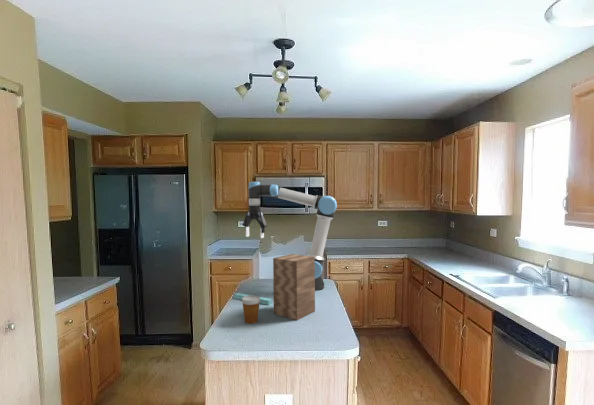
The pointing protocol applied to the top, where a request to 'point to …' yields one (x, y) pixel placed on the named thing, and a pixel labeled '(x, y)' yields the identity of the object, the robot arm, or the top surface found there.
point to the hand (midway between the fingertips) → (254, 237)
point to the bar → (262, 300)
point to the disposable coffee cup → (251, 308)
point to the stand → (294, 286)
